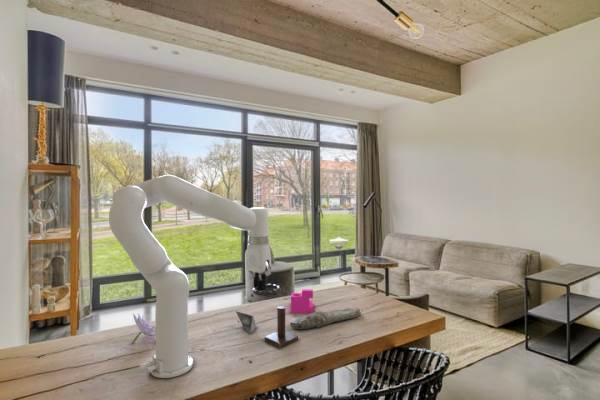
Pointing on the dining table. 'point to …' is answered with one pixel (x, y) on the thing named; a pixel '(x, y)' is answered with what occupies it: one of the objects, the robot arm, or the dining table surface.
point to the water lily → (144, 327)
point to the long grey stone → (324, 318)
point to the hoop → (267, 293)
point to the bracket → (302, 301)
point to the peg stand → (281, 331)
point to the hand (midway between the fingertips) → (259, 289)
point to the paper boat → (247, 321)
